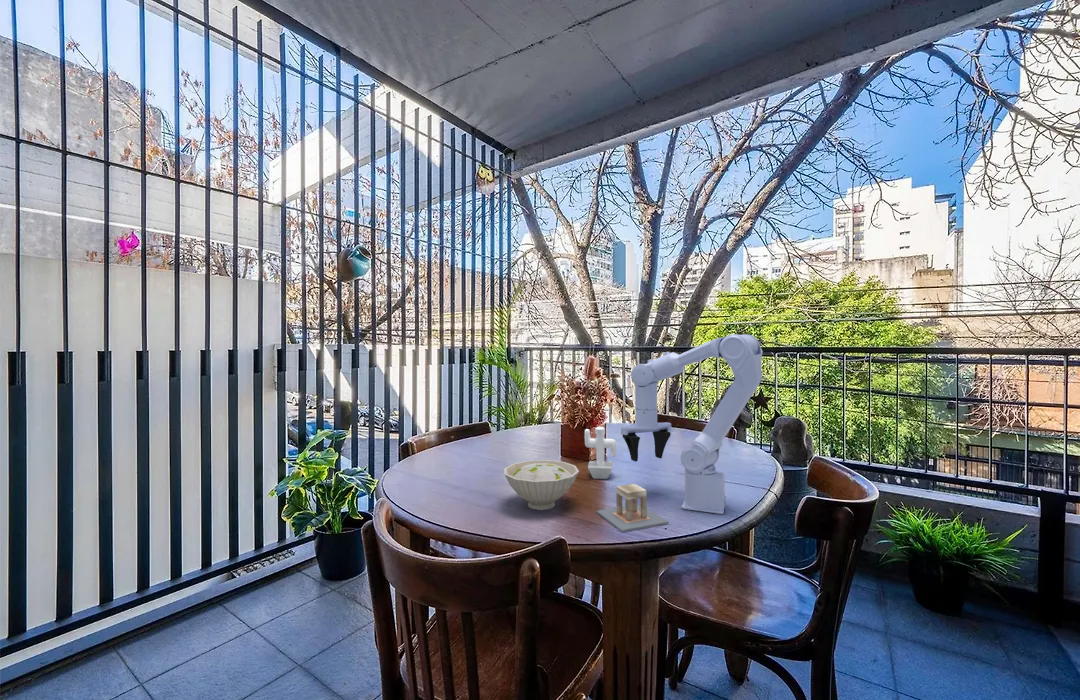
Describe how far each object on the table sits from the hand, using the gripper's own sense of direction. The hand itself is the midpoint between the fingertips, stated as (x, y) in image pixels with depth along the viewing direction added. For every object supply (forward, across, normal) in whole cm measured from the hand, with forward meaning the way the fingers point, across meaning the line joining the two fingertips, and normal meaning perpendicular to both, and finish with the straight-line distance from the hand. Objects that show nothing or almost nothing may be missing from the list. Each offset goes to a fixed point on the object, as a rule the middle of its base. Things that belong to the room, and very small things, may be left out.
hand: (646, 459), depth 123 cm
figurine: (+10, +4, -18) cm, 21 cm away
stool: (+9, +13, +13) cm, 20 cm away
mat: (+9, +13, +13) cm, 20 cm away
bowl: (+10, +29, -4) cm, 31 cm away
